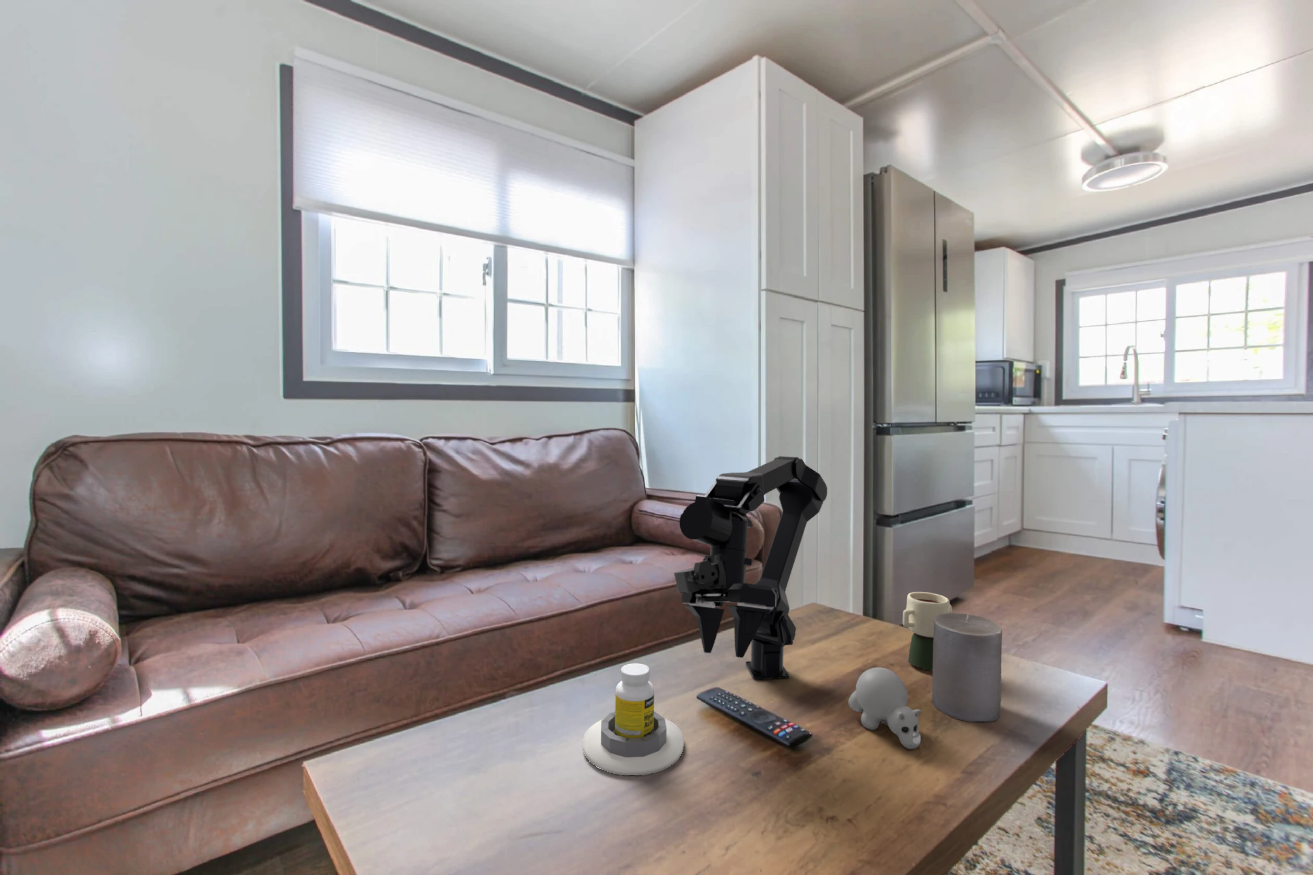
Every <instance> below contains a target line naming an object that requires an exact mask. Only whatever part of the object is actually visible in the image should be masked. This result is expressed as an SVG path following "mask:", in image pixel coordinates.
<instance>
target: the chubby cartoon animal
mask: <svg viewBox="0 0 1313 875" xmlns="http://www.w3.org/2000/svg"><path fill="white" fill-rule="evenodd" d="M908 694H909V692H908V690H907V686H906V685H905V682H904V681H903V679H902V678H901V677H900V676H899V675H898V674H897V673H896V672H894V671H893V670H891V669H888V668H885V667H880V666H879V667H878V666H877V667H876V666H875V667H872V668H869V669H867V670H864V672H862V673H861V675H859V676H858V679H857V682H856V685H855V690H854V691H853V692H852V693H851V695H850V696H849V698H848V706H849V708H850V709H851V710H852V711H855V712H857V713H862V714H861V716H860V722H861V725H862V726H863V727H864V728H866V729H868V730H871V731H876V730H877V729H878V727H879V725H880V722H881V724H883V725H884V726H888V727H889V729H890V730H891V732H892V733H893V734H895V735H896V736H897V737H898V739H899V741H900V743H901V745H902V746H903V747H904V748H906V749H909V750H914V749H917V748H918V747H919V746H920V745H921V738H922V737H921V734H920V733H919V732H920V731H919V725H920V722H919V716H920V714H921V713H922V710H921V709H918V708H917V709H912V708H911V707H910V706H908V700H909V695H908Z"/></svg>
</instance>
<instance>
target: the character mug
mask: <svg viewBox="0 0 1313 875" xmlns="http://www.w3.org/2000/svg"><path fill="white" fill-rule="evenodd" d="M945 613H953V607H952V605H951V604H950V600H949V598H948V597H946V596H944V595H941V594H939V593H933V592H926V591H925V592H924V591H913V592H909V593H908V594H907V597H906V608H905V609H904V610H903V612H902V626H903V628H908V630H909V631H911V633H912V635H911V638H910V644H909V650H908V660H907V661H908V664H911V665H912V666H915V667H918V668H919V669H923V670H927V671H932V672H933V635H934V618H935V617H936V616H937V615H939V614H945Z"/></svg>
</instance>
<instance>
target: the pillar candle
mask: <svg viewBox="0 0 1313 875" xmlns="http://www.w3.org/2000/svg"><path fill="white" fill-rule="evenodd" d="M1002 641H1003V629H1002V626H1001V625H1000V624H999V623H998V622H996V621H993V620H991V619H990V618H986V617H983V616H979V615H975V614H974V615H973V614H968V613H960V612H952V613H945V614H939V615H937V616H936V617H935V618H934V635H933V671H932V678H931V679H932V681H931V682H932V687H931V688H932V690H931V701H932V702H931V703H932V705H933V706H934V707H935V709H937V710H938V711H939V712H941V713H943V715H944V714H945V715H947V716H949V717H951V718H954V719H957V720H961V721H963V722H971V723H976V722H984V723H985V722H988V723H989V722H990V723H991V722H995V721H996V720H997V719H999V718H1000V715H1001V704H1002V703H1001V702H1002V699H1001V698H1002V652H1003V651H1002V650H1003V649H1002V646H1003V645H1002V644H1003V643H1002Z"/></svg>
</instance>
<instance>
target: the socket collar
mask: <svg viewBox="0 0 1313 875" xmlns="http://www.w3.org/2000/svg"><path fill="white" fill-rule="evenodd" d="M582 739H583V740H582V751H584V752H583V754H584V753H585V755H586V757H585V759H586V758H587V759H588V760H589V761H590V762H591V763H592V764H594V765H595V766H597V767H599V768H601V769H603V770H604V771H603V772H605V771H608V772H611V773H615V774H620V775H619V776H622V775H642V776H648V775H652V774H651V773H653V774H656V773H659V772H662V771H664V770H666V769H669V768H670V767H672V766H673V765H674V764H676V763H677V762H678V761H679V760H680V758H681V757H680V756H682V755H683V753H684V748H685V747H684V746H685V745H684V735H683V733H682V730H681V728H679V727H678V726H677V725H676V724H675V723H673V722H672V721H670V720H669V719H667V718H664V717H663V716H662V715H661V714H659V713H657V711H654V730H653V734H651V735H648V736H645V737H643V738H624V737H621V736H617V735H615V711H613V712H610V713H608V714H607V715H606V716H605V717H604V718H603V719H600V720H598V721H597V722H595V723H594V724H592V725H591V726H589V728H588V729H587V730H586V731H585V733H584V735H583V738H582ZM683 747H684V748H683ZM682 752H683V753H682ZM681 754H682V755H681ZM585 755H584V756H585ZM587 759H586V760H587ZM588 760H587V761H588ZM589 761H588V762H589ZM590 762H589V763H590ZM591 763H590V764H591ZM592 764H591V765H592ZM671 765H672V766H671ZM595 766H594V767H595ZM608 772H607V773H608ZM611 773H610V774H611ZM615 774H614V775H615Z"/></svg>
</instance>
